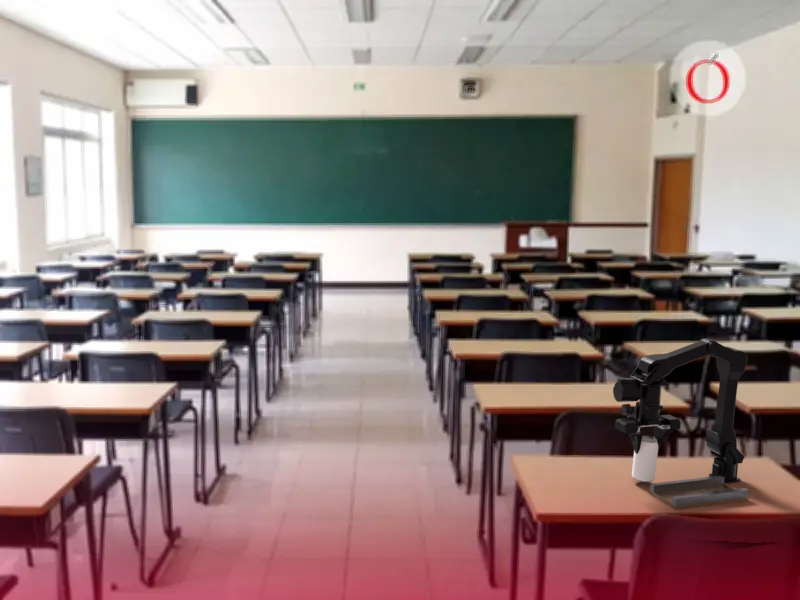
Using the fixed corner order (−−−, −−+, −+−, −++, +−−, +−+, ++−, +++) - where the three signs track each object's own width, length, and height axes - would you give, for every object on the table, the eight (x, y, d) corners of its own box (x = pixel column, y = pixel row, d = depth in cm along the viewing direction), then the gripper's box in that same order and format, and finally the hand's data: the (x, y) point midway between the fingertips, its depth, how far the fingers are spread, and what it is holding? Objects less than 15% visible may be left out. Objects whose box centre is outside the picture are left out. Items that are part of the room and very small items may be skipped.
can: (656, 483, 216) (660, 443, 214) (632, 481, 217) (636, 441, 215) (653, 475, 222) (657, 436, 220) (630, 472, 223) (634, 434, 221)
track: (720, 485, 219) (720, 475, 219) (747, 500, 209) (748, 489, 209) (650, 493, 212) (650, 483, 212) (675, 509, 202) (676, 498, 201)
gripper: (659, 391, 226) (656, 440, 229) (605, 395, 221) (602, 446, 223) (684, 401, 216) (680, 453, 218) (628, 405, 210) (624, 458, 213)
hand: (646, 452), depth 218 cm, fingers closed on can, 6 cm apart
